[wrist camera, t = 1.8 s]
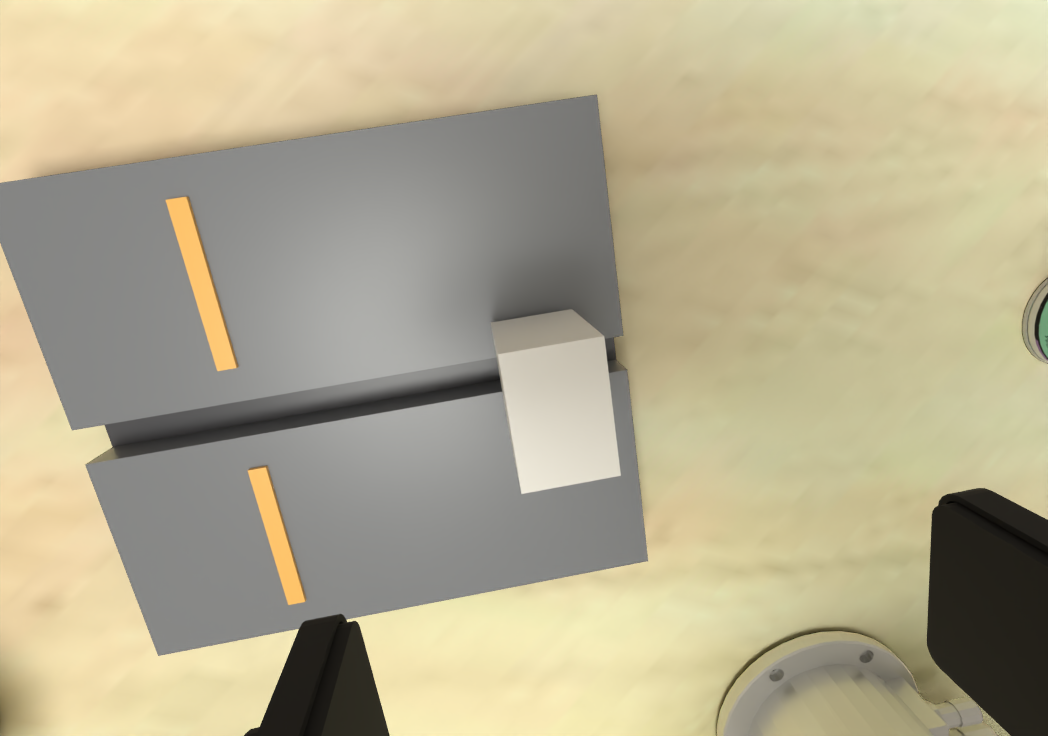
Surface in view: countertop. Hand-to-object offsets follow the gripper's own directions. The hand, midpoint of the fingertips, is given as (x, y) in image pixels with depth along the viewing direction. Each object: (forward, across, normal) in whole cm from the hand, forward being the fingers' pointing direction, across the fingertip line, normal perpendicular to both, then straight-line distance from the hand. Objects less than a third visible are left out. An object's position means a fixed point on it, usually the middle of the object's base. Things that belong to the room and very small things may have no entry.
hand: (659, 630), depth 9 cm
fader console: (+20, +8, 0) cm, 22 cm away
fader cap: (+19, 0, 0) cm, 19 cm away
